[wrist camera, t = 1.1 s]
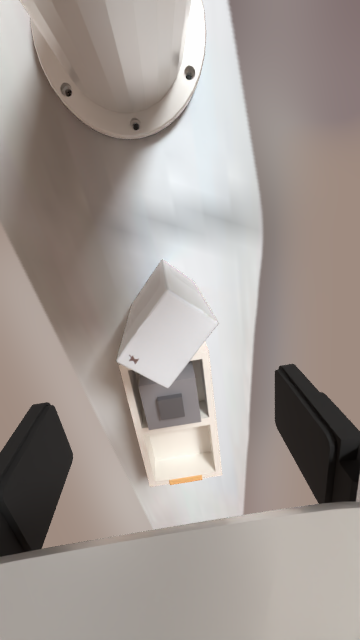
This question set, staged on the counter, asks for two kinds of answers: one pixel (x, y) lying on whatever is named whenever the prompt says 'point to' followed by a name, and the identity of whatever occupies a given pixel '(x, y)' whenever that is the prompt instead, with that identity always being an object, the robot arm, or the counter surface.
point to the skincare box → (165, 326)
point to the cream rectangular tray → (178, 432)
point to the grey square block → (171, 400)
